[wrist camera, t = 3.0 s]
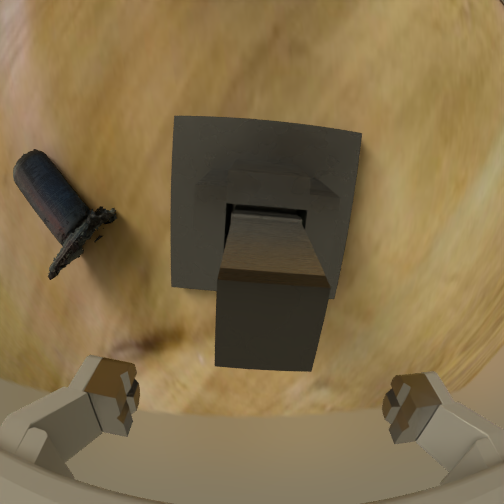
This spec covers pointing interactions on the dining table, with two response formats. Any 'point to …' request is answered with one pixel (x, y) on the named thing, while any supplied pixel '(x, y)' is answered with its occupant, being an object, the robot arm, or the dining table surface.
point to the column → (269, 293)
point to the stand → (257, 188)
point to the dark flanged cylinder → (58, 207)
